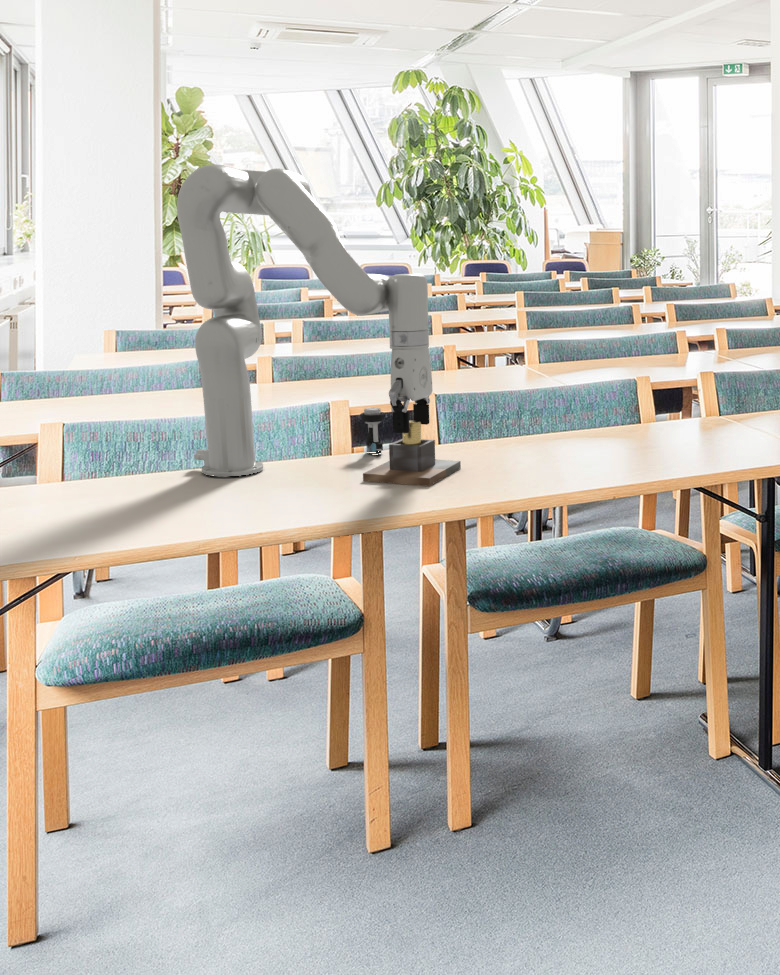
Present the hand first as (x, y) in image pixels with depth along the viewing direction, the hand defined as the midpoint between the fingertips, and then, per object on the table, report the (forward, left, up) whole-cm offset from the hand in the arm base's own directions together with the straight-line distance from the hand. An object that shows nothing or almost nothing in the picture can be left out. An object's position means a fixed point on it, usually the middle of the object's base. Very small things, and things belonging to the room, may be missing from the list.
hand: (411, 428), depth 183 cm
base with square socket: (0, 0, -9) cm, 9 cm away
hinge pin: (0, 0, -8) cm, 8 cm away
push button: (-16, +15, -9) cm, 24 cm away
